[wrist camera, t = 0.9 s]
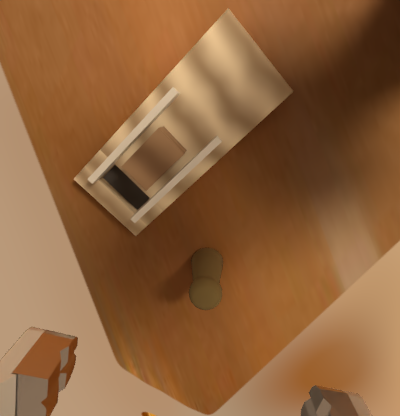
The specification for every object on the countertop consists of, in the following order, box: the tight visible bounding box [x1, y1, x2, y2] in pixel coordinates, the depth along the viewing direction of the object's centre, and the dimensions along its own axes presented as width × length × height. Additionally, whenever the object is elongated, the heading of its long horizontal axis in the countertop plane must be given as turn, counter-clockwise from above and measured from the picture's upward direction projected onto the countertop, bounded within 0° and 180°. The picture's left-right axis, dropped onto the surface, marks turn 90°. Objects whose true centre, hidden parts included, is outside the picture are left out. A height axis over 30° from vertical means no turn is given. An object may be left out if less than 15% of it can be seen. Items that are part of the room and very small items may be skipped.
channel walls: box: [88, 87, 222, 223], centre depth 42 cm, size 19×10×2 cm, turn 133°
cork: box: [189, 248, 223, 310], centre depth 46 cm, size 6×6×11 cm
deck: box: [74, 8, 293, 236], centre depth 43 cm, size 34×14×2 cm, turn 133°
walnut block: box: [121, 126, 187, 191], centre depth 41 cm, size 8×5×4 cm, turn 133°
